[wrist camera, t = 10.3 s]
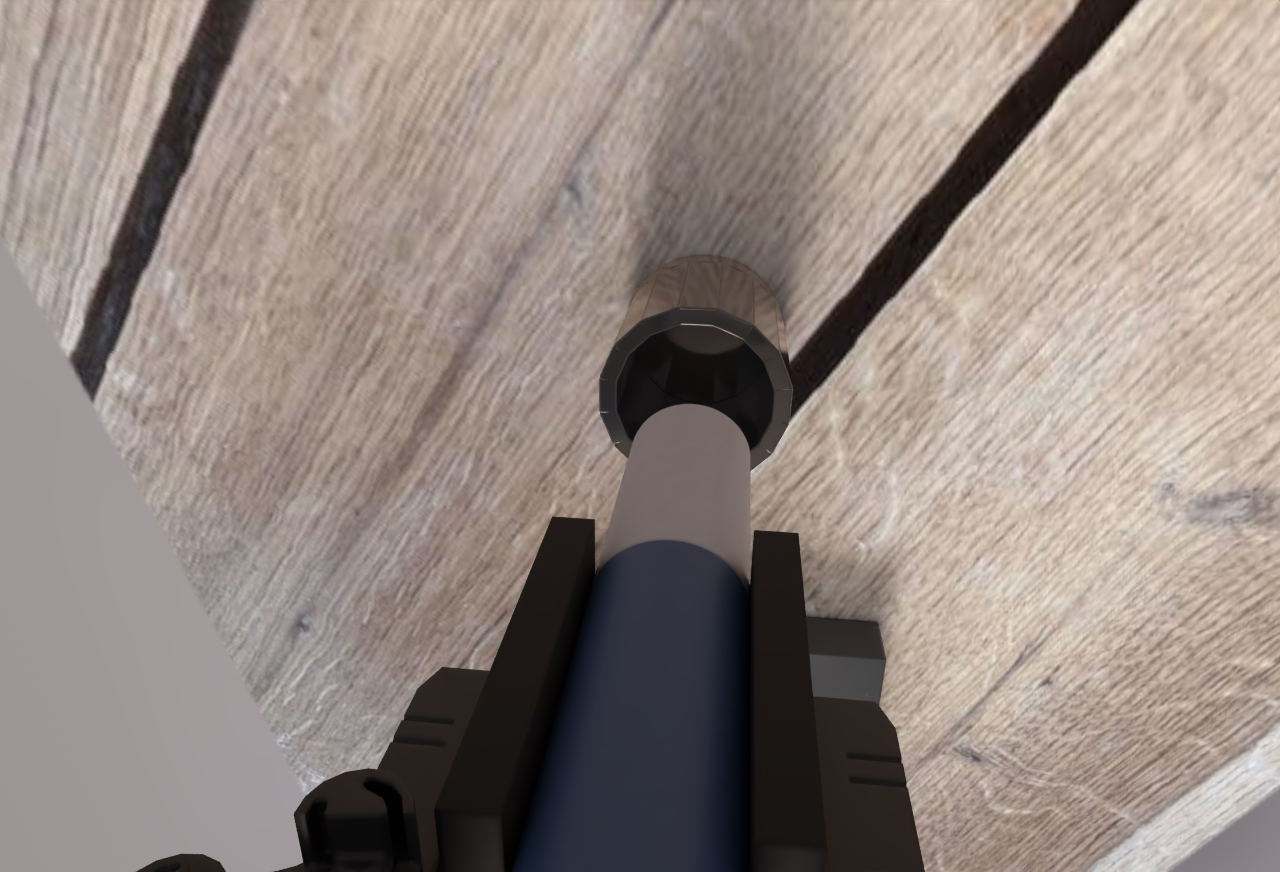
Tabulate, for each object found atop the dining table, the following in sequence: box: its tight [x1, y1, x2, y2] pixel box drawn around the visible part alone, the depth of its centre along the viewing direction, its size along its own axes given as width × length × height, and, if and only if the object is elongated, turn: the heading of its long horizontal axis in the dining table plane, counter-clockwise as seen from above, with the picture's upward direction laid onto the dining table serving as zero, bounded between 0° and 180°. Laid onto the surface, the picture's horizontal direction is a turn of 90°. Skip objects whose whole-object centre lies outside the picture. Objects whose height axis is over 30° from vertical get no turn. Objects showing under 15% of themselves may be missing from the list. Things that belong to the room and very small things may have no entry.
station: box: [806, 618, 886, 705], centre depth 34 cm, size 12×10×4 cm
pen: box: [511, 404, 750, 872], centre depth 13 cm, size 3×3×18 cm
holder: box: [599, 255, 793, 471], centre depth 27 cm, size 5×5×6 cm
